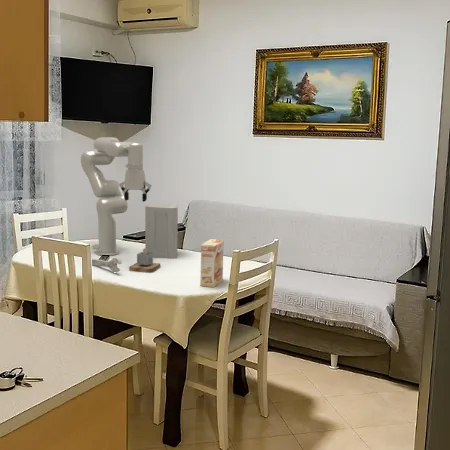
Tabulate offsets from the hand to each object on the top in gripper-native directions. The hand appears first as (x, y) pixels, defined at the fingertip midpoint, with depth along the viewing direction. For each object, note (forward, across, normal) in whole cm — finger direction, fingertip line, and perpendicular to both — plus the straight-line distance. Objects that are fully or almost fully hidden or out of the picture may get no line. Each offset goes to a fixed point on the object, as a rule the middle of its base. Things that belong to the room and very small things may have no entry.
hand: (135, 200), depth 304 cm
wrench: (+34, -10, -16) cm, 39 cm away
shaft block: (+33, +9, -9) cm, 36 cm away
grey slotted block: (+30, +9, -9) cm, 33 cm away
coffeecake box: (+34, +48, -22) cm, 63 cm away
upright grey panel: (+34, +9, +22) cm, 41 cm away
